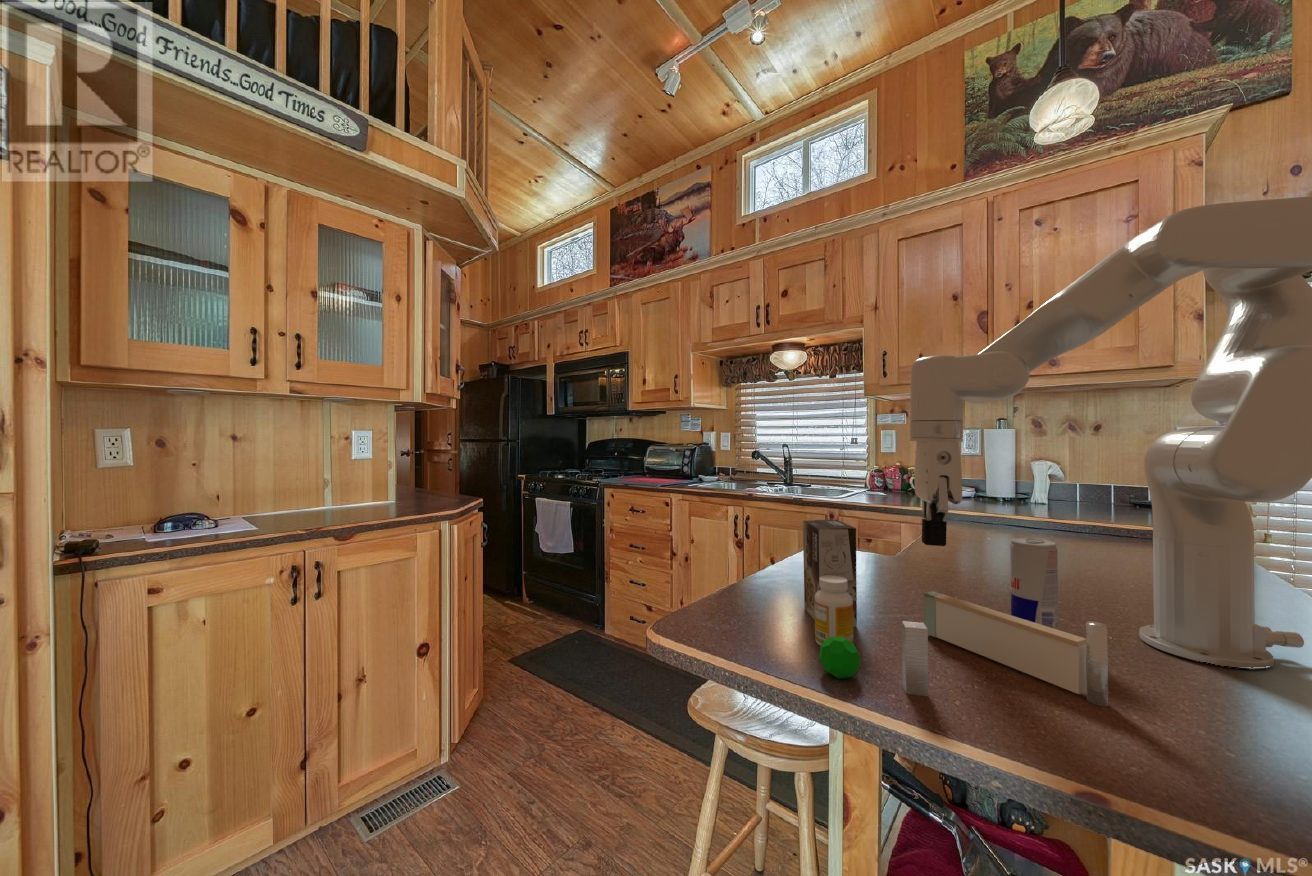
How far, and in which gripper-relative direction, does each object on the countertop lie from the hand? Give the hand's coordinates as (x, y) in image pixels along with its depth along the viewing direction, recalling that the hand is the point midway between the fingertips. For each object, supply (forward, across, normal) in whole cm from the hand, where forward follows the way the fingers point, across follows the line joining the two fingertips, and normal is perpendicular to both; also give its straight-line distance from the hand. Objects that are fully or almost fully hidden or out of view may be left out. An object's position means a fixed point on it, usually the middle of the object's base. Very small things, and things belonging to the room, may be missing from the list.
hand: (933, 544), depth 79 cm
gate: (+13, -12, -5) cm, 18 cm away
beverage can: (+13, -3, -13) cm, 19 cm away
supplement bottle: (+14, -12, +16) cm, 24 cm away
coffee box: (+14, -1, +16) cm, 21 cm away
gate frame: (+13, -22, -2) cm, 26 cm away
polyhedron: (+14, -22, +16) cm, 31 cm away
